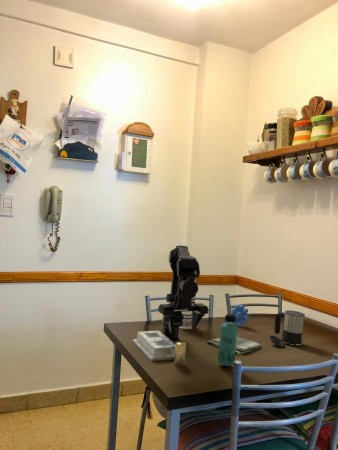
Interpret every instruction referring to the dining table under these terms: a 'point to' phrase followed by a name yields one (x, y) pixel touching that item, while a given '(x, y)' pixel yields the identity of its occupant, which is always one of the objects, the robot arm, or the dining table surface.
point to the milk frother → (289, 328)
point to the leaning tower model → (187, 318)
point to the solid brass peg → (180, 354)
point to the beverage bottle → (228, 341)
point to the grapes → (240, 314)
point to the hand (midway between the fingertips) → (181, 331)
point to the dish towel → (238, 345)
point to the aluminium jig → (155, 345)
